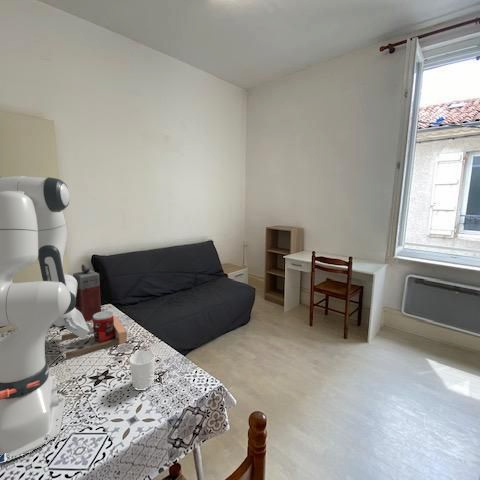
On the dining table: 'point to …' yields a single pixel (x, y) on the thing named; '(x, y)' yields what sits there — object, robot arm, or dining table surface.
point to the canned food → (103, 326)
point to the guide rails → (87, 349)
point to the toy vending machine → (88, 292)
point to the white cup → (142, 369)
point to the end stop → (119, 331)
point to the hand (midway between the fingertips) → (92, 330)
